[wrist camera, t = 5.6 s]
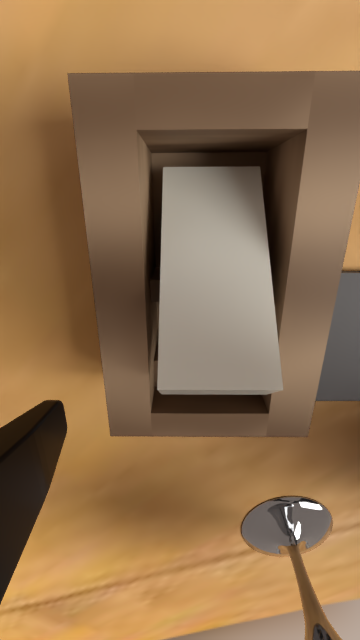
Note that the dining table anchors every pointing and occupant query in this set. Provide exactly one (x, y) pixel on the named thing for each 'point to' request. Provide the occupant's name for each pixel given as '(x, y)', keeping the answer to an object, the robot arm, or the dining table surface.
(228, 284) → the block
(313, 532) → the wine glass
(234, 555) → the dining table surface
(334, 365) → the mat
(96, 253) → the rectangular frame
